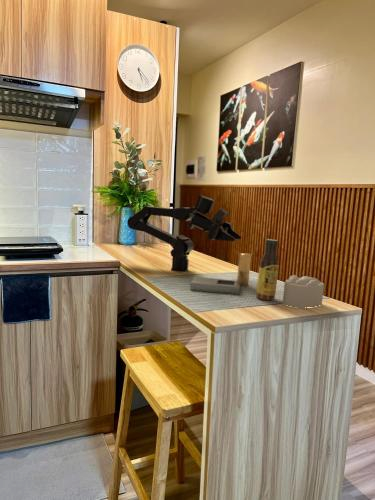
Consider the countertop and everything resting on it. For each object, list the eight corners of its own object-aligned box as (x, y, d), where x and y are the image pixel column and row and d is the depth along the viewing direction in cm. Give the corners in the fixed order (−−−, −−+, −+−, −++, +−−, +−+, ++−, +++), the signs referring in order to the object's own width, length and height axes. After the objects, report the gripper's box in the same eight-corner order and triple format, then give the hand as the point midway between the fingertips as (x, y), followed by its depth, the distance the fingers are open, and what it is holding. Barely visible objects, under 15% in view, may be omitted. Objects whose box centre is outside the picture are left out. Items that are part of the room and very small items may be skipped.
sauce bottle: (263, 301, 120) (269, 241, 117) (252, 296, 125) (257, 238, 122) (279, 300, 123) (285, 240, 120) (267, 295, 128) (272, 238, 125)
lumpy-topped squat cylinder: (326, 305, 120) (329, 279, 119) (300, 310, 113) (303, 283, 111) (300, 297, 128) (302, 272, 127) (274, 301, 121) (276, 275, 120)
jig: (190, 289, 130) (190, 282, 129) (194, 283, 139) (194, 276, 139) (238, 294, 127) (239, 287, 127) (239, 287, 137) (240, 281, 136)
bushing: (236, 285, 139) (239, 254, 137) (237, 283, 143) (239, 252, 142) (248, 287, 138) (251, 255, 137) (248, 284, 143) (251, 253, 141)
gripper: (204, 205, 145) (239, 222, 140) (219, 205, 162) (251, 220, 157) (193, 231, 148) (227, 248, 143) (210, 228, 165) (241, 243, 160)
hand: (237, 239), depth 151 cm, fingers open, 9 cm apart
